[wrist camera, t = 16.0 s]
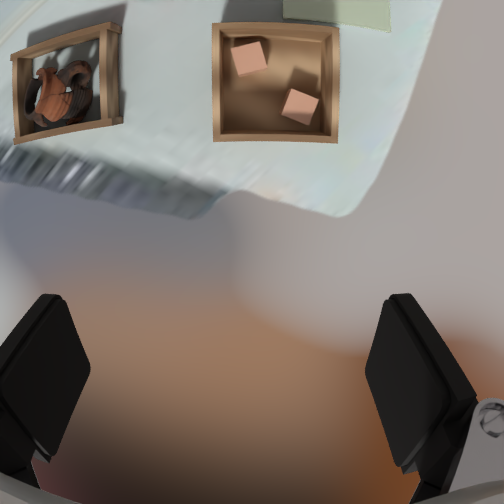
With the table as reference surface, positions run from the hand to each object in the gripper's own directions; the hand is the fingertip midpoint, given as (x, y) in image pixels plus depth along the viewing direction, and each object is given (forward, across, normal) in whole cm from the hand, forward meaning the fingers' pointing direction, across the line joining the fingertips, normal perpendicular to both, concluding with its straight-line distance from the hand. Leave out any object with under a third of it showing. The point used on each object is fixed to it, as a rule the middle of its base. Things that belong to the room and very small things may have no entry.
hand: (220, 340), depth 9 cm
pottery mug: (+37, +25, -11) cm, 45 cm away
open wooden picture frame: (+36, +25, -12) cm, 46 cm away
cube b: (+36, -7, -6) cm, 37 cm away
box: (+36, -4, -9) cm, 38 cm away
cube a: (+36, -1, -12) cm, 37 cm away
